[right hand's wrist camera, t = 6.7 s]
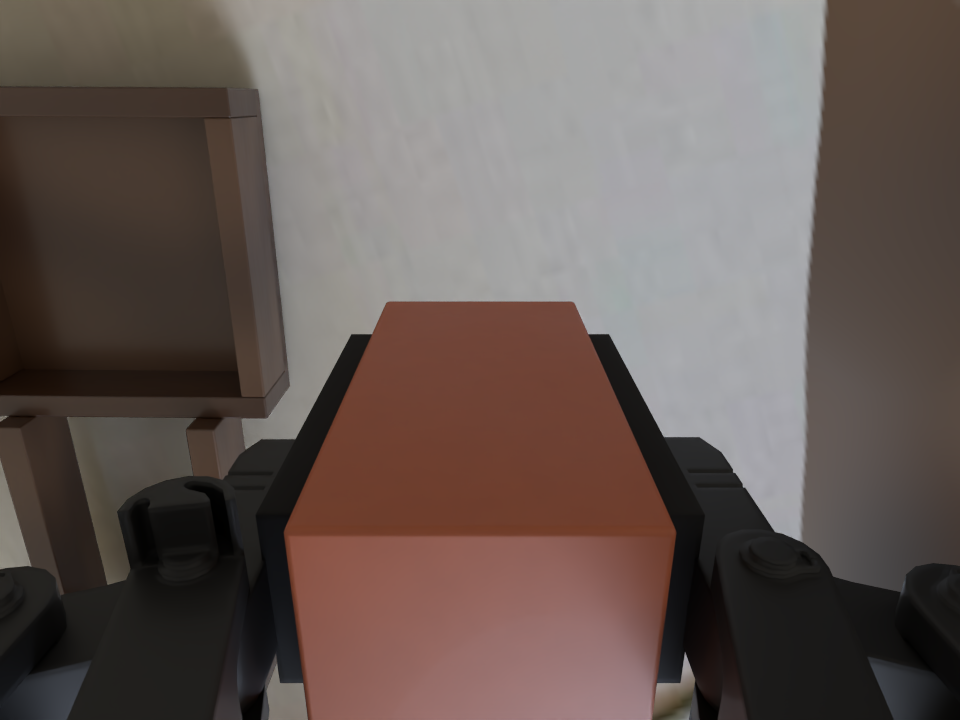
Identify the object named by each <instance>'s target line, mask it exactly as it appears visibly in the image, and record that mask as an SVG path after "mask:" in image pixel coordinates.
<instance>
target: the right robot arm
mask: <svg viewBox="0 0 960 720" xmlns="http://www.w3.org/2000/svg"><path fill="white" fill-rule="evenodd" d="M588 335H589V337H590V339H591V342H592V344H593V346H594V348H595V351H596V353H597V355H598V357H599V360H600V362H601V364H602V366H603V368H604V371H605V373H606V375H607V377H608V380H609V382H610V384H611V386H612V389H613V391H614V393H615V395H616V397H617V400H618V402H619V404H620V406H621V409H622V411H623V413H624V415H625V418H626V420H627V422H628V424H629V427H630V429H631V431H632V433H633V435H634V438H635V440H636V442H637V444H638V447H639V449H640V451H641V453H642V456H643V458H644V460H645V462H646V465H647V467H648V469H649V471H650V473H651V476H652V478H653V480H654V482H655V485H656V487H657V489H658V491H659V494H660V496H661V498H662V500H663V502H664V505H665V507H666V509H667V511H668V514H669V516H670V518H671V520H672V523H673V525H674V527H675V530H676V539H675V547H674V555H673V562H672V570H671V578H670V585H669V593H668V601H667V608H666V616H665V624H664V631H663V639H662V646H661V654H660V662H659V669H658V677H657V683H680V682H681V675H682V668H683V661H684V655H685V653H686V655H687V658H688V661H689V663H690V666H691V669H692V672H693V674H694V677H695V686H694V692H693V698H692V705H691V711H690V717H689V720H960V566H956V565H946V564H935V563H932V564H927V565H921V566H916V567H915V568H913V569H912V570H911V571H910V572H909V573H908V574H906V576H905V580H904V583H903V587H902V590H901V592H897V591H892V590H888V589H883V588H878V587H873V586H869V585H864V584H859V583H854V582H850V581H847V580H843V579H839V578H836V577H833V576H832V573H831V571H830V569H829V567H828V566H827V565H826V563H825V562H824V560H823V559H822V558H821V556H820V555H819V554H818V553H816V552H815V551H814V550H812V549H811V548H809V547H808V546H807V545H805V544H804V543H802V542H800V541H798V540H795V539H793V538H791V537H789V536H786V535H784V534H780V533H776V532H774V530H773V529H772V527H771V526H770V524H769V523H768V521H767V520H766V518H765V517H764V515H763V514H762V512H761V511H760V509H759V508H758V506H757V505H756V503H755V502H754V500H753V499H752V497H751V496H750V494H749V493H748V491H747V490H746V488H743V484H742V482H741V481H740V479H739V478H738V476H737V475H736V473H733V469H732V467H731V466H730V464H729V463H728V461H727V460H726V459H725V457H724V456H723V454H722V453H721V452H720V451H719V450H717V449H716V448H714V447H713V446H711V445H710V444H708V443H707V442H705V441H704V440H703V439H701V438H700V437H663V435H662V433H661V431H660V429H659V427H658V425H657V424H656V422H655V420H654V418H653V416H652V414H651V412H650V410H649V409H648V407H647V405H646V403H645V401H644V399H643V397H642V395H641V394H640V392H639V390H638V388H637V386H636V384H635V382H634V380H633V379H632V377H631V375H630V373H629V371H628V369H627V367H626V365H625V364H624V362H623V360H622V358H621V356H620V354H619V352H618V350H617V349H616V347H615V345H614V343H613V341H612V339H611V337H610V335H609V334H588ZM371 336H372V334H351V336H350V338H349V340H348V342H347V344H346V346H345V348H344V349H343V351H342V353H341V355H340V357H339V359H338V361H337V363H336V364H335V366H334V368H333V370H332V372H331V374H330V376H329V378H328V379H327V381H326V383H325V385H324V387H323V389H322V391H321V393H320V395H319V396H318V398H317V400H316V402H315V404H314V406H313V408H312V410H311V411H310V413H309V415H308V417H307V419H306V421H305V423H304V425H303V426H302V428H301V430H300V432H299V434H298V436H297V438H296V439H261V440H260V441H258V442H257V443H255V444H254V445H253V446H251V447H250V448H248V449H247V450H245V451H244V452H242V453H241V454H239V456H238V457H237V459H236V460H235V462H234V463H233V465H232V466H231V468H230V469H229V471H228V475H226V476H225V477H224V479H223V480H222V479H218V478H214V477H210V476H187V477H181V478H176V479H171V480H166V481H163V482H161V483H158V484H155V485H153V486H150V487H147V488H145V489H143V490H142V491H140V492H139V493H137V494H135V495H134V496H132V497H131V498H129V499H128V500H127V501H126V502H125V503H124V504H123V505H122V507H121V508H120V509H119V510H118V511H117V513H118V517H119V521H120V526H121V530H122V534H123V538H124V542H125V547H126V551H127V555H128V559H129V563H130V567H131V570H130V572H129V575H128V577H127V579H126V580H124V581H121V582H117V583H113V584H110V585H106V586H101V587H96V588H91V589H87V590H82V591H77V592H72V593H67V594H63V595H60V591H59V588H58V585H57V581H56V578H55V577H54V576H53V575H52V574H51V573H49V572H48V571H47V570H46V569H41V568H36V567H30V566H24V567H14V568H5V569H1V570H0V720H268V717H269V705H268V698H267V692H266V686H265V682H266V679H267V676H268V674H269V671H270V668H271V665H272V663H273V660H274V657H275V654H276V658H277V665H278V672H279V678H280V683H303V676H302V668H301V661H300V653H299V646H298V638H297V630H296V623H295V615H294V607H293V600H292V592H291V584H290V577H289V569H288V561H287V554H286V546H285V538H284V530H285V527H286V525H287V523H288V520H289V518H290V516H291V514H292V512H293V509H294V507H295V505H296V503H297V500H298V498H299V496H300V494H301V492H302V489H303V487H304V485H305V483H306V480H307V478H308V476H309V474H310V472H311V469H312V467H313V465H314V463H315V460H316V458H317V456H318V454H319V452H320V449H321V447H322V445H323V443H324V440H325V438H326V436H327V434H328V432H329V429H330V427H331V425H332V423H333V420H334V418H335V416H336V414H337V412H338V409H339V407H340V405H341V403H342V400H343V398H344V396H345V394H346V392H347V389H348V387H349V385H350V383H351V380H352V378H353V376H354V374H355V372H356V369H357V367H358V365H359V363H360V360H361V358H362V356H363V354H364V352H365V349H366V347H367V345H368V343H369V340H370V338H371Z"/></svg>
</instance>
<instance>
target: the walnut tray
mask: <svg viewBox="0 0 960 720" xmlns="http://www.w3.org/2000/svg"><path fill="white" fill-rule="evenodd" d="M289 386H290V383H289V374H288V364H287V355H286V346H285V336H284V327H283V317H282V308H281V299H280V289H279V280H278V271H277V261H276V252H275V242H274V233H273V224H272V214H271V205H270V196H269V186H268V177H267V168H266V158H265V149H264V139H263V130H262V121H261V111H260V102H259V93H258V89H243V88H193V87H7V86H0V416H9V417H7V418H5V419H4V420H2V421H1V422H0V459H1V463H2V466H3V470H4V473H5V477H6V480H7V484H8V487H9V490H10V494H11V497H12V501H13V504H14V508H15V511H16V515H17V518H18V521H19V525H20V528H21V532H22V535H23V539H24V542H25V546H26V549H27V552H28V556H29V559H30V563H31V566H32V567H36V568H41V569H46V570H47V571H48V572H49V573H51V574H52V575H53V576H54V577H55V578H56V581H57V585H58V588H59V591H60V595H63V594H67V593H72V592H77V591H82V590H87V589H91V588H96V587H101V586H106V585H107V581H106V577H105V573H104V569H103V564H102V560H101V556H100V552H99V548H98V544H97V540H96V536H95V532H94V527H93V523H92V519H91V515H90V511H89V507H88V503H87V499H86V495H85V490H84V486H83V482H82V478H81V474H80V470H79V466H78V462H77V457H76V453H75V449H74V445H73V441H72V437H71V433H70V429H69V425H68V420H67V417H165V418H196V419H195V420H194V421H193V422H192V423H191V424H190V425H189V427H188V428H187V429H186V435H187V441H188V447H189V452H190V458H191V464H192V470H193V475H194V476H210V477H214V478H218V479H222V480H223V479H224V477H225V476H226V475H228V471H229V469H230V468H231V466H232V465H233V463H234V462H235V460H236V459H237V457H238V456H239V454H241V453H242V452H244V451H245V445H244V437H243V430H242V423H241V418H268V416H269V415H270V413H271V412H272V410H273V409H274V408H275V406H276V405H277V403H278V402H279V400H280V399H281V397H282V396H283V395H284V393H285V392H286V391H287V389H288V388H289ZM276 663H277V658H276V654H275V657H274V660H273V663H272V665H271V668H270V671H269V674H268V676H267V679H266V682H265V686H266V690H267V687H268V684H269V682H270V679H271V676H272V674H273V671H274V668H275V666H276Z"/></svg>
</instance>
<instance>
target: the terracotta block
mask: <svg viewBox="0 0 960 720" xmlns="http://www.w3.org/2000/svg"><path fill="white" fill-rule="evenodd" d="M284 538H285V546H286V554H287V561H288V569H289V577H290V584H291V592H292V600H293V607H294V615H295V623H296V630H297V638H298V646H299V653H300V661H301V668H302V676H303V684H304V691H305V699H306V707H307V714H308V720H652V715H653V708H654V700H655V692H656V685H657V677H658V669H659V662H660V654H661V646H662V639H663V631H664V624H665V616H666V608H667V601H668V593H669V585H670V578H671V570H672V562H673V555H674V547H675V539H676V530H675V527H674V525H673V523H672V520H671V518H670V516H669V514H668V511H667V509H666V507H665V505H664V502H663V500H662V498H661V496H660V494H659V491H658V489H657V487H656V485H655V482H654V480H653V478H652V476H651V473H650V471H649V469H648V467H647V465H646V462H645V460H644V458H643V456H642V453H641V451H640V449H639V447H638V444H637V442H636V440H635V438H634V435H633V433H632V431H631V429H630V427H629V424H628V422H627V420H626V418H625V415H624V413H623V411H622V409H621V406H620V404H619V402H618V400H617V397H616V395H615V393H614V391H613V389H612V386H611V384H610V382H609V380H608V377H607V375H606V373H605V371H604V368H603V366H602V364H601V362H600V360H599V357H598V355H597V353H596V351H595V348H594V346H593V344H592V342H591V339H590V337H589V335H588V333H587V330H586V328H585V326H584V324H583V322H582V319H581V317H580V315H579V313H578V310H577V308H576V306H575V304H574V303H573V302H387V303H386V305H385V307H384V309H383V312H382V314H381V316H380V318H379V320H378V323H377V325H376V327H375V329H374V332H373V334H372V336H371V338H370V340H369V343H368V345H367V347H366V349H365V352H364V354H363V356H362V358H361V360H360V363H359V365H358V367H357V369H356V372H355V374H354V376H353V378H352V380H351V383H350V385H349V387H348V389H347V392H346V394H345V396H344V398H343V400H342V403H341V405H340V407H339V409H338V412H337V414H336V416H335V418H334V420H333V423H332V425H331V427H330V429H329V432H328V434H327V436H326V438H325V440H324V443H323V445H322V447H321V449H320V452H319V454H318V456H317V458H316V460H315V463H314V465H313V467H312V469H311V472H310V474H309V476H308V478H307V480H306V483H305V485H304V487H303V489H302V492H301V494H300V496H299V498H298V500H297V503H296V505H295V507H294V509H293V512H292V514H291V516H290V518H289V520H288V523H287V525H286V527H285V530H284Z"/></svg>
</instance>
